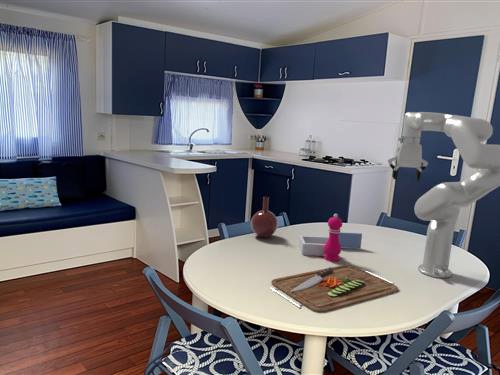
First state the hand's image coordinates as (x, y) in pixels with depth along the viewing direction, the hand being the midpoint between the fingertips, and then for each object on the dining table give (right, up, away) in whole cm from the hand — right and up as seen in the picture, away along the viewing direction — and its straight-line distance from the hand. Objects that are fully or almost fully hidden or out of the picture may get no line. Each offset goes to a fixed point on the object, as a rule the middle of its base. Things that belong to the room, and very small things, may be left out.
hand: (405, 179), depth 185 cm
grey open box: (-38, -32, +4) cm, 50 cm away
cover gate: (-24, -31, +10) cm, 41 cm away
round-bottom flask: (-62, -28, +21) cm, 71 cm away
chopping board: (-39, -40, -34) cm, 65 cm away
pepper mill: (-34, -34, -6) cm, 49 cm away
